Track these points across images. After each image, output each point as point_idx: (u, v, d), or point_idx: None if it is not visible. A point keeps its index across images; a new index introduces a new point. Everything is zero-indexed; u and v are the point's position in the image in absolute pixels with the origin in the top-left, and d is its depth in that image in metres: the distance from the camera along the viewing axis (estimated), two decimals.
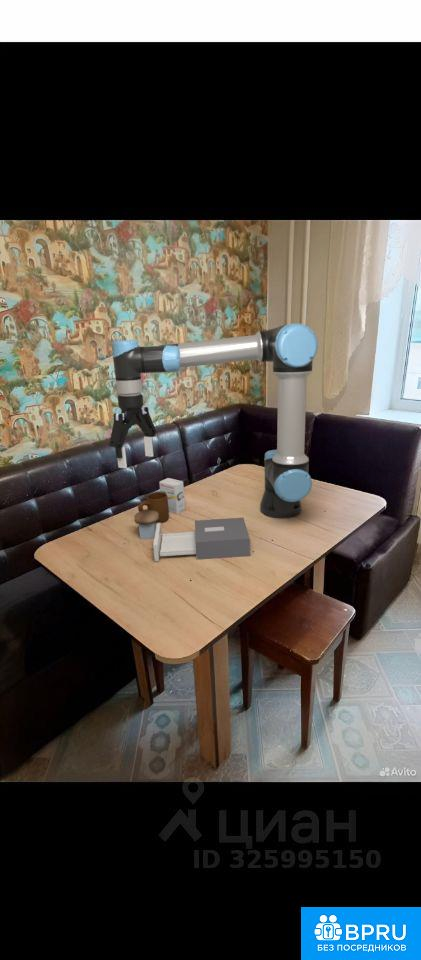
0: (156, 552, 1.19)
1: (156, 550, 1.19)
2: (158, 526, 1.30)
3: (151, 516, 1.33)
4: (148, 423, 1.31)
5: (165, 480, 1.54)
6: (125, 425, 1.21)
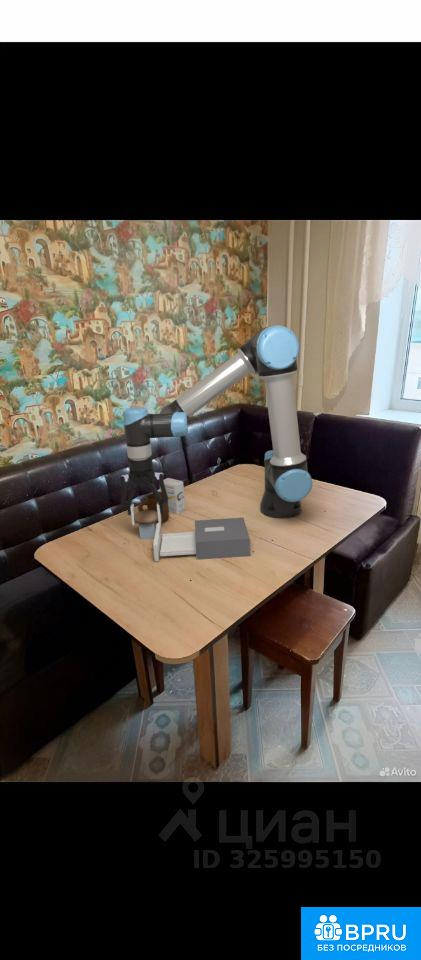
0: (156, 552, 1.19)
1: (156, 550, 1.19)
2: (158, 526, 1.30)
3: (151, 516, 1.33)
4: None
5: (165, 480, 1.54)
6: None
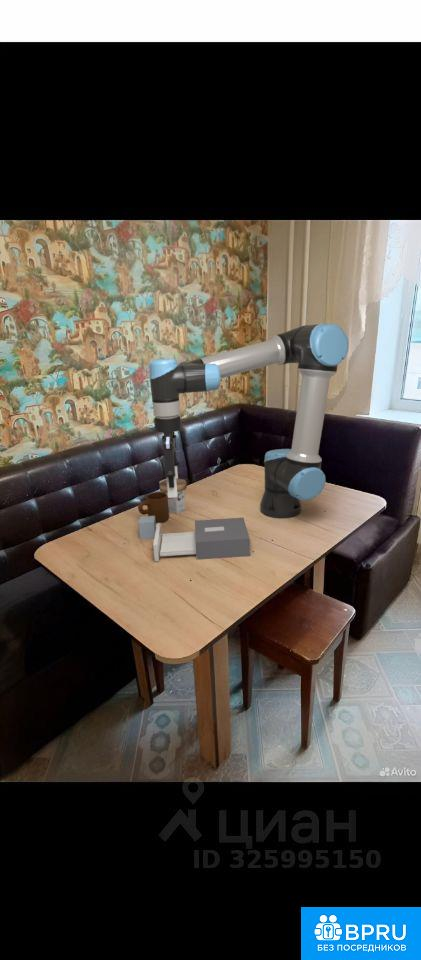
0: (156, 552, 1.19)
1: (156, 550, 1.19)
2: (158, 526, 1.30)
3: (177, 480, 1.22)
4: None
5: None
6: None
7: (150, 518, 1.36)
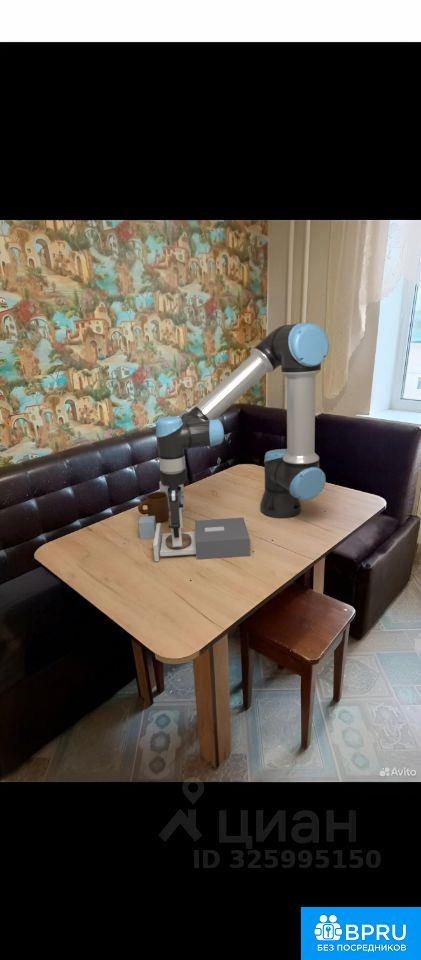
0: (156, 552, 1.19)
1: (156, 550, 1.19)
2: (158, 526, 1.30)
3: (182, 536, 1.28)
4: None
5: None
6: None
7: (150, 518, 1.36)
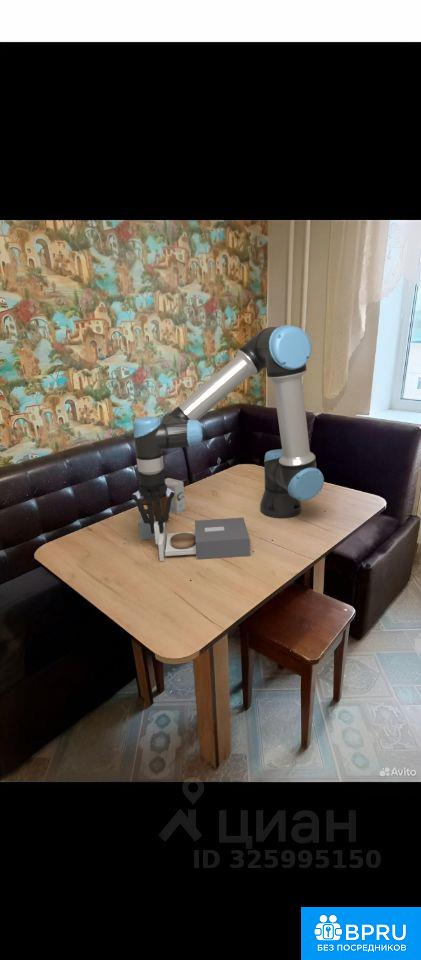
0: (161, 552, 1.19)
1: (161, 550, 1.19)
2: (163, 526, 1.30)
3: (187, 535, 1.28)
4: (166, 507, 1.23)
5: (166, 480, 1.54)
6: None
7: None
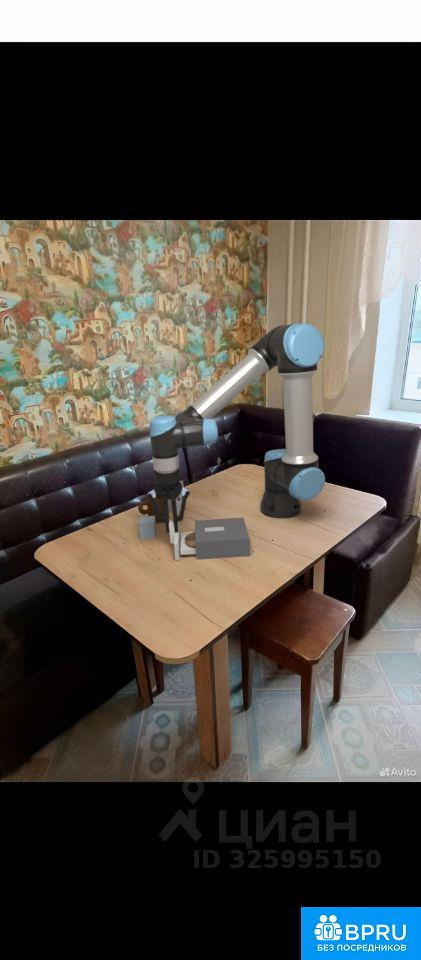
0: (177, 551, 1.20)
1: (177, 549, 1.19)
2: None
3: None
4: (181, 506, 1.23)
5: None
6: None
7: (150, 518, 1.36)
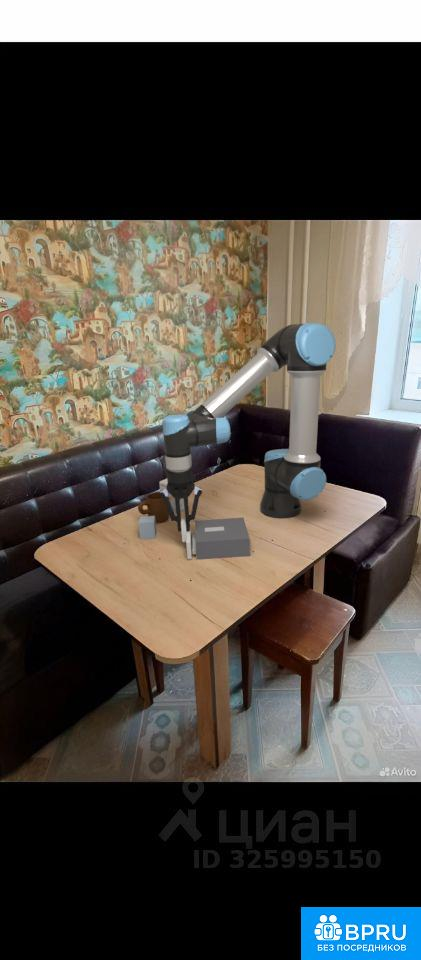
0: (189, 550, 1.20)
1: (189, 548, 1.19)
2: None
3: None
4: (193, 505, 1.23)
5: (165, 480, 1.54)
6: None
7: (150, 518, 1.36)
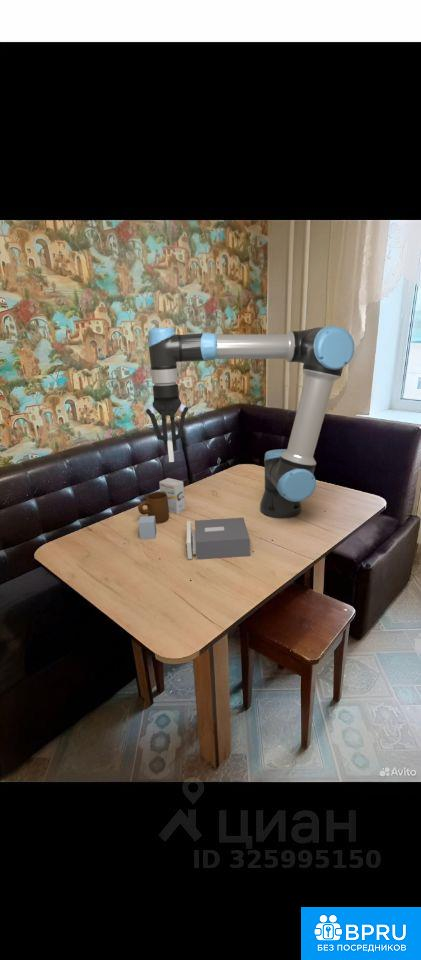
0: (189, 550, 1.20)
1: (189, 548, 1.19)
2: (189, 524, 1.30)
3: None
4: None
5: (166, 480, 1.54)
6: None
7: (150, 518, 1.36)
